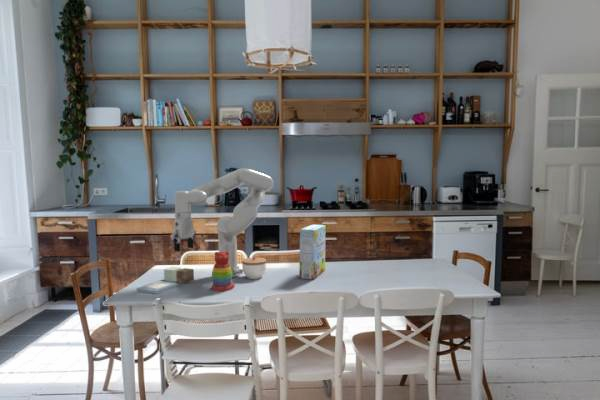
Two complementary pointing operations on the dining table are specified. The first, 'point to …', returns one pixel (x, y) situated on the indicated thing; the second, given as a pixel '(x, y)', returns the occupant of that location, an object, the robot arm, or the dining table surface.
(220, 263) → the stacking bear
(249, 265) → the lidded bowl
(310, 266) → the snack box
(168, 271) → the sage block
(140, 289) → the board
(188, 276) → the walnut block
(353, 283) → the dining table surface
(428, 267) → the dining table surface
